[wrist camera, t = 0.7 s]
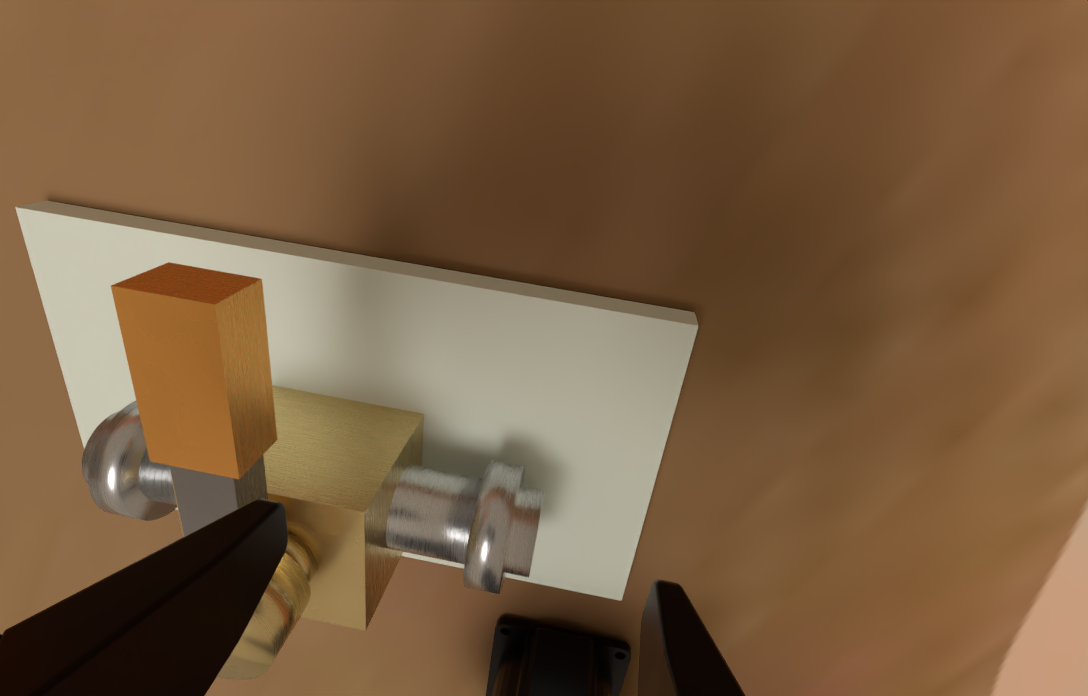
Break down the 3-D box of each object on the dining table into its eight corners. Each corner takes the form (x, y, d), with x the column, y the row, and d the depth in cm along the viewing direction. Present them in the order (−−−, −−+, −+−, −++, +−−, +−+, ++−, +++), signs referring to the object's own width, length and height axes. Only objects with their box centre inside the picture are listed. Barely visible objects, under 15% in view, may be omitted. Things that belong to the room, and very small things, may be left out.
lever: (313, 628, 18) (277, 690, 16) (210, 606, 18) (164, 665, 16) (288, 283, 12) (231, 318, 11) (143, 257, 13) (64, 287, 11)
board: (621, 578, 25) (621, 600, 24) (118, 476, 27) (96, 493, 26) (694, 312, 19) (698, 325, 18) (46, 200, 21) (15, 207, 20)
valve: (554, 438, 21) (529, 562, 16) (536, 541, 23) (509, 680, 18) (149, 362, 22) (-6, 453, 17) (171, 468, 24) (41, 578, 19)
